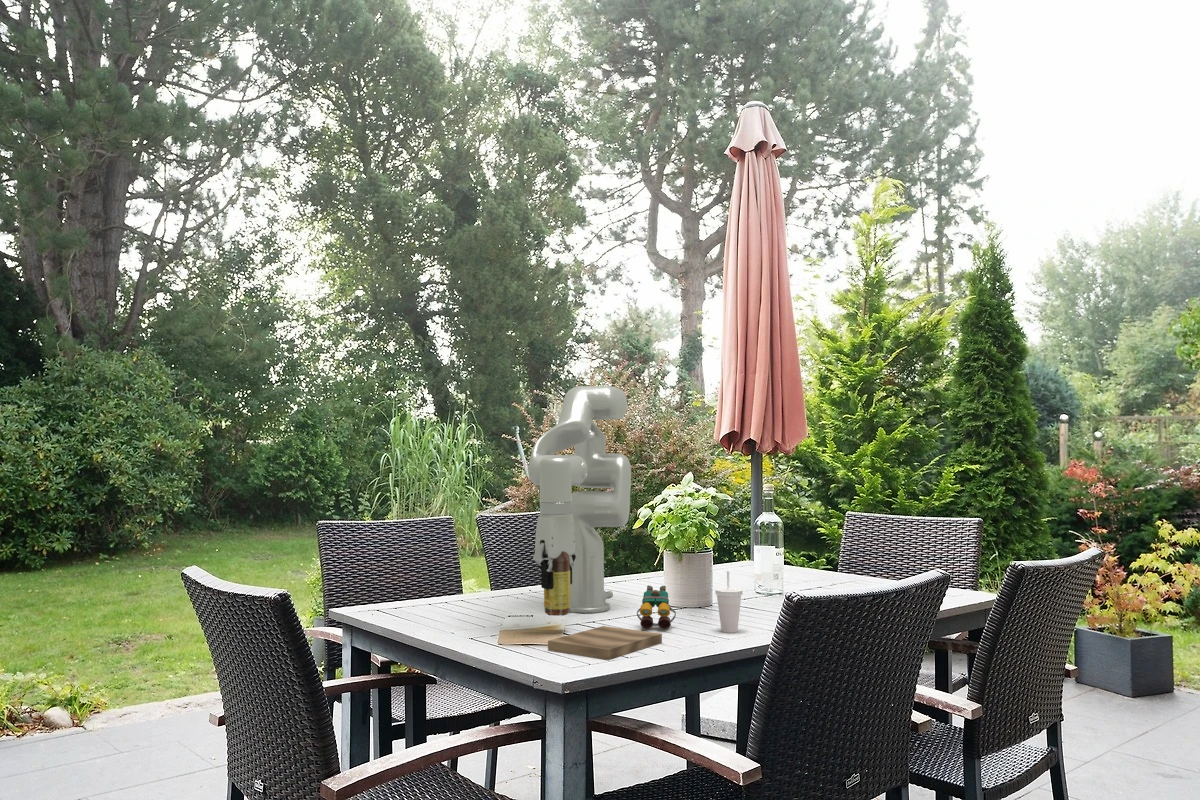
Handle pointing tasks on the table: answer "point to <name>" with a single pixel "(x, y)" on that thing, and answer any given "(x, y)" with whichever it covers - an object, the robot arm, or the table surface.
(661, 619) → the binoculars
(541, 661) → the table surface
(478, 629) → the table surface
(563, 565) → the sauce bottle
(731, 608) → the smoothie
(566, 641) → the walnut board
